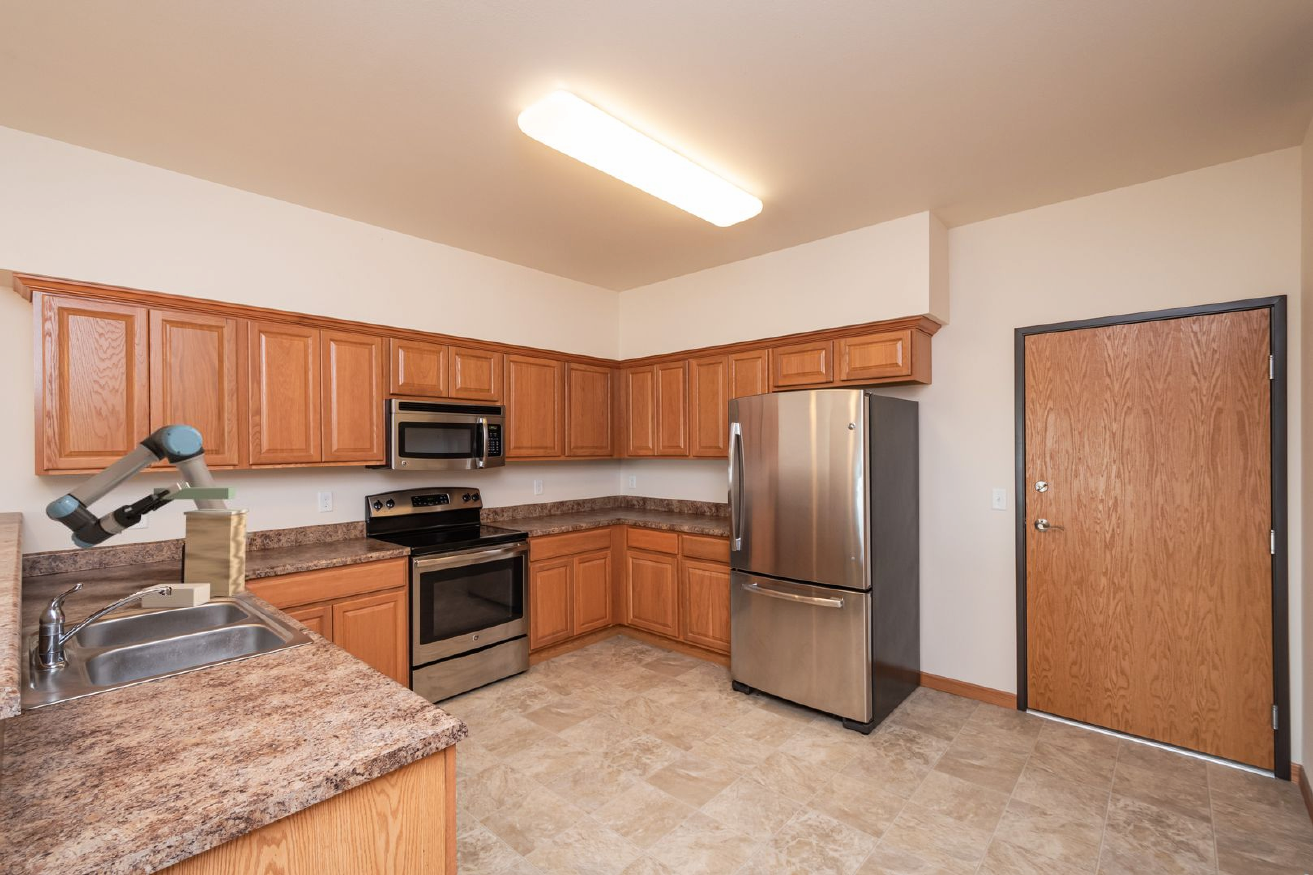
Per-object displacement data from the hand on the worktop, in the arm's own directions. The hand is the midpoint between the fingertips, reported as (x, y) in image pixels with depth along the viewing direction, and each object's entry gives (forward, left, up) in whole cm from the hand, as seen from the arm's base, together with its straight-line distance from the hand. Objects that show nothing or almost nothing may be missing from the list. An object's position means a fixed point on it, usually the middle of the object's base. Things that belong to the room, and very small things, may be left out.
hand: (183, 485), depth 212 cm
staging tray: (+14, +8, -39) cm, 42 cm away
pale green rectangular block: (0, +4, -5) cm, 6 cm away
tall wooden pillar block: (0, +11, -39) cm, 40 cm away
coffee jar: (-14, -3, -39) cm, 42 cm away
